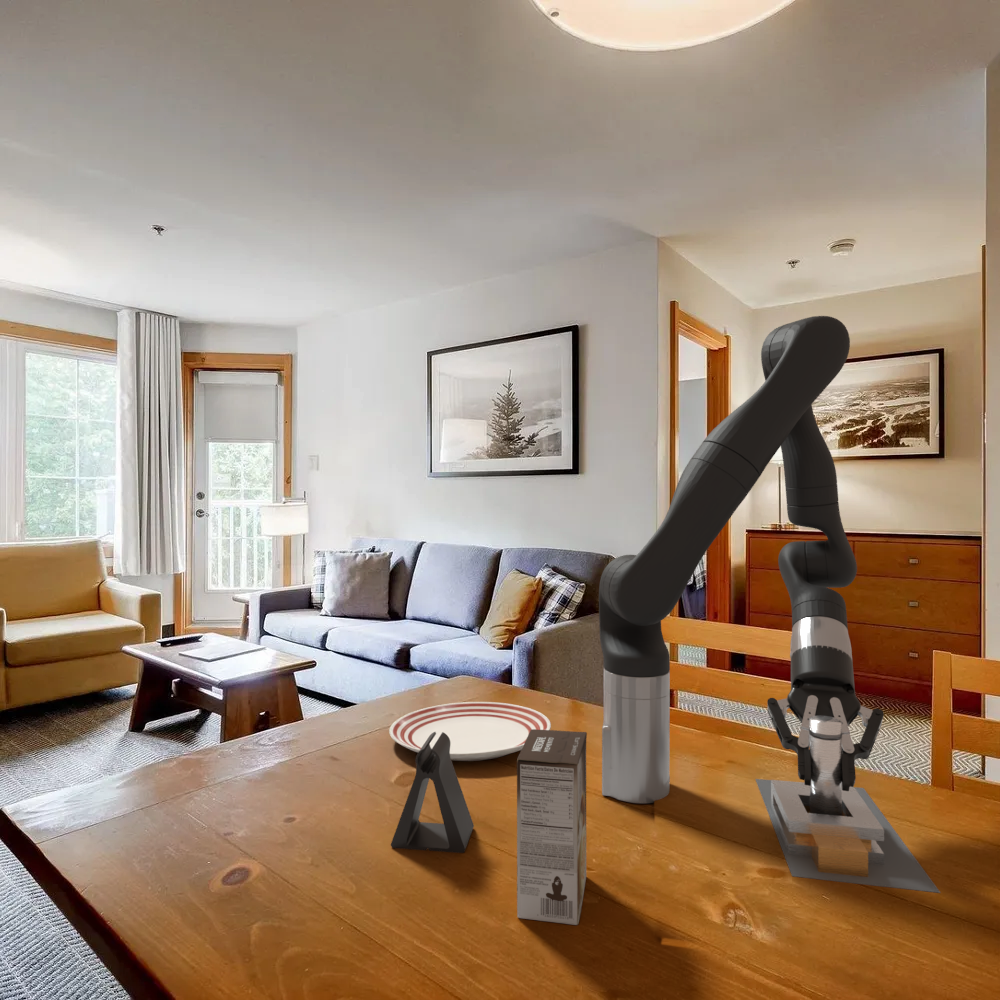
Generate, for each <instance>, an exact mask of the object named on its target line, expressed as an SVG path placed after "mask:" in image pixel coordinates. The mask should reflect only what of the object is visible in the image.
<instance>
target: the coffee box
mask: <svg viewBox="0 0 1000 1000" xmlns="http://www.w3.org/2000/svg"><path fill="white" fill-rule="evenodd" d="M587 735H588V733H587V732H586V731H567V730H554V729H550V730H536V729H532V730H531V731H530V733H529V735H528V737H527V739H526V741H525V744H524V746H523V748H522V750H520V752H519V754H518V756H517V758H516V759H517V760H516V869H517V870H516V877H517V878H516V910H517V911H516V913H517V914H516V916H517V918H519V919H524V920H525V919H526V920H534V921H539V922H549V923H557V924H565V925H573V926H578V925H579V922H580V918H581V913H582V906H583V899H584V895H585V894H584V893H585V887H586V882H587V881H586V880H587Z"/></svg>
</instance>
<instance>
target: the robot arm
mask: <svg viewBox="0 0 1000 1000" xmlns="http://www.w3.org/2000/svg"><path fill="white" fill-rule="evenodd" d="M850 346H851V339H850V334H849V331H848V329H847V327H846V325H845V324H844V323H843V322H842V321H840V320H839V319H838V318H836V317H834V316H833V317H832V316H830V315H829V316H828V315H816V316H810V317H805V318H802V319H799V320H796V321H792V322H789V323H785V324H782V325H781V326H778V327H776V328H774V329H773V330H772V331H771V332H769V334H767V335H766V337H765V339H764V341H763V342H762V346H761V350H760V351H761V352H760V356H761V357H760V358H761V359H760V360H761V367H762V371H763V377H764V382H763V384H762V385H761V386H760V387H759V388H758V390H756V391H755V392H754V394H752V395H751V396H750V397H749V398H748V399H746V400H745V401H744V402H742V404H741V405H739V406H738V407H737V408H736V409H734V410H733V411H732V412H731V413H729V415H728V416H726V417H725V418H724V419H722V420H721V422H720V423H718V424H717V425H716V427H714V428H713V429H712V430H711V431H710V432H709V433H708V435H706V437H705V439H704V440H703V441H702V442H701V444H700V445H699V446H698V448H697V450H696V451H695V452H694V454H693V455H692V457H691V458H690V459H689V461H688V463H687V464H686V465H685V467H684V469H683V471H682V472H681V475H680V477H679V480H678V481H677V485H676V487H675V489H674V493H673V495H672V499H671V502H670V505H669V508H668V511H667V513H666V514H665V517H664V519H663V521H662V522H661V524H660V526H659V527H658V529H657V530H656V531H655V532H654V534H653V535H652V536H651V538H650V539H649V540H648V542H647V543H646V544H645V545H644V546H643V548H642V549H641V550H639V552H638V554H624V555H620V556H617V557H615V558H614V559H613V560H611V561H610V562H609V563H608V564H607V565H606V566H605V568H603V571H602V574H601V575H600V581H599V586H598V587H599V588H598V621H599V622H598V623H599V641H600V647H601V651H602V652H601V653H602V656H603V722H602V728H601V737H602V738H601V753H602V754H601V777H602V778H601V795H602V796H607V797H611V798H614V799H616V800H618V801H622V802H627V803H631V804H653V803H655V801H658V800H662V799H664V798H665V797H667V796H668V795H669V794H670V783H671V780H670V779H671V777H670V775H671V774H670V755H671V754H670V749H671V747H670V744H671V743H670V731H671V730H670V724H671V723H670V719H671V718H670V712H671V710H670V707H671V705H670V703H671V702H670V696H671V695H670V688H671V687H670V680H671V679H670V674H671V673H670V672H671V671H670V670H671V668H670V665H671V664H670V660H671V659H670V652H669V649H668V647H667V645H666V643H665V639H664V636H663V630H662V621H663V620H665V618H666V617H668V615H670V614H671V613H672V611H673V609H674V608H675V607H676V605H677V603H678V602H679V601H680V598H681V597H682V594H683V593H684V591H685V589H686V587H687V586H688V584H689V582H690V580H691V577H692V576H693V575H694V573H695V571H696V569H697V567H698V565H699V563H700V562H701V560H702V559H703V557H704V555H705V554H706V552H707V551H708V549H709V548H710V546H711V545H712V543H713V542H714V541H715V540H716V538H717V537H718V536H719V534H720V533H721V532H722V530H723V529H724V527H725V526H726V525H727V523H728V521H729V520H730V518H732V516H733V515H734V513H735V512H736V510H737V509H738V507H739V506H740V505H741V504H742V502H743V501H744V500H745V499H746V497H747V495H748V494H749V493H750V492H751V490H752V489H753V488H754V486H755V484H756V483H757V481H758V480H759V479H760V477H761V476H762V474H763V472H764V471H765V469H766V467H767V466H768V465H769V464H770V461H771V460H772V459H773V457H774V456H775V454H776V453H777V452H778V451H779V449H781V450H780V451H781V454H782V463H783V471H784V484H785V485H784V486H785V497H786V511H787V518H788V520H789V522H790V523H791V524H792V525H794V526H798V527H803V528H811V529H815V530H819V531H820V532H822V533H823V534H824V535H825V536H826V538H827V540H826V539H825V540H807V541H806V540H804V541H803V540H801V541H800V540H798V541H791V542H788V543H787V544H786V543H785V545H784V546H782V548H780V549H781V550H780V551H779V554H778V559H777V561H778V569H779V572H780V574H781V575H780V576H781V578H782V580H783V583H784V584H785V587H786V590H787V592H788V595H789V598H790V605H791V636H790V637H791V638H790V652H789V658H790V690H789V693H788V694H787V697H786V698H782V699H776V698H774V697H769V698H767V701H766V703H767V704H766V705H767V713H768V715H769V717H770V718H769V719H770V720H771V722H772V725H773V727H774V729H775V732H776V735H777V736H778V739H779V742H780V743H781V746H782V747H783V749H785V750H791V751H793V752H795V753H796V755H797V776H798V778H799V780H802V781H803V782H804V785H809V786H811V758H810V734H809V727H810V717H811V716H829V717H834V718H837V719H839V720H841V722H842V755H841V767H842V790H843V791H849V787H854V786H855V784H856V779H857V777H856V766H855V761H856V760H858V759H861V760H867V759H869V758H870V756H871V753H872V751H873V748H874V745H875V743H876V740H877V738H878V735H879V732H880V730H881V727H882V724H883V720H884V715H885V713H884V711H883V710H882V709H880V708H874V709H873V710H872V709H870V708H868V707H865V706H863V705H861V702H860V701H859V698H858V697H857V695H856V690H855V677H854V676H855V675H854V666H853V665H854V664H853V655H852V654H853V653H852V652H853V651H852V644H851V639H850V635H849V629H848V616H847V613H848V612H847V605H846V602H845V599H844V597H843V595H841V594H840V593H839V592H838V591H836V590H834V588H835V589H836V588H846V587H848V586H849V585H850V584H852V582H854V580H855V579H856V576H857V572H858V565H857V560H856V556H855V554H854V552H853V550H852V547H851V544H850V543H849V540H848V537H847V534H846V531H845V529H844V526H843V522H842V517H841V513H840V503H839V493H838V492H839V489H838V479H837V476H838V475H837V469H836V466H835V465H836V464H835V462H834V458H833V455H832V454H831V451H830V448H829V447H828V445H827V443H826V441H825V438H824V437H823V435H822V432H821V430H820V429H819V426H818V424H817V421H816V417H815V414H814V409H813V405H812V404H813V403H814V402H815V401H816V400H817V398H818V397H819V396H821V394H822V393H823V392H824V391H825V390H826V388H827V387H828V386H829V385H830V384H831V383H832V381H833V380H834V379H835V378H836V377H837V375H839V373H840V372H841V371H842V369H843V367H844V366H845V363H846V361H847V359H848V356H849V352H850V349H851V348H850ZM831 588H833V589H831ZM788 709H790V711H791V712H792V713H793V714H794V716H795V717H796V718H797V719H798V721H799V722H800V723H801V725H800V731H799V734H798V737H797V736H795V735H793V734H792V732H791V730H790V727H789V725H788V722H787V721H786V717H787V716H788ZM858 716H859V717H860V718H861V724H862V727H863V726H864V727H865V729H864V731H863V734H862V736H861V739H860V742H858V743H853V740H852V737H851V733H850V728H849V726H850V725H851V724H852V723H853V722H854V721H855V719H856V718H857V717H858Z"/></svg>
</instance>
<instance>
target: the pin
mask: <svg viewBox="0 0 1000 1000" xmlns="http://www.w3.org/2000/svg"><path fill="white" fill-rule="evenodd" d="M809 734H810V746H809V749H810V758H811V786H810V813H815V814H826V815H836V816H842V767H841V755H842V722H841V720H839V719H837V718H834V717H829V716H811V717H810V727H809Z"/></svg>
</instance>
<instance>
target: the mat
mask: <svg viewBox="0 0 1000 1000" xmlns="http://www.w3.org/2000/svg"><path fill="white" fill-rule="evenodd" d="M771 780H772V779H762V778H761V779H760V778H755V782H756V785H757V787H758V790H759V793H760V796H761V798H762V801H763V803H764V806H765V808H766V812H767V814H768V816H769V819H770V821H771V824H772V827H773V829H774V832H775V834H776V837H777V841H778V842H779V845H780V848H781V851H782V853H783V856H784V858H785V861H786V863H787V866H788V869H789V872H790V875H791V877H794V878H805V879H812V880H821V881H832V882H838V883H847V884H857V885H864V886H865V885H866V886H875V887H883V888H892V889H893V888H894V889H901V890H910V891H918V892H920V891H921V892H929V893H937V894H941V891H940V889H938V887H937V886H936V884H935V883H934V881H932V879H931V878H930V876H929V875H928V874H927V872H926V871H925V869H924V868H923V866H921V864H920V863H919V861H918V859H916V857H915V856H914V855H913V853H912V852H911V851H910V849H909V847H908V846H907V845H906V844H905V843H904V840H902V838H901V837H900V835H899V834H898V833H897V832H896V830H895V829H894V827H893V826H892V824H891V823H890V821H889V820H888V819H887V818H886V816H885V815H884V814H883V812H882V811H881V810H880V808H879V807H878V806H877V804H876V803H875V802H874V800H873V799H872V798H871V796H870V795H869V793H868V792H867V791H866V789H865V788H864V787H856V786H855V787H854V786H853V787H854V788H855V789H856V791H857V792H858V793H859V795H860V796H861V798H862V799H863V800H864V802H865V803H866V805H867V806H868V808H869V809H870V810H871V812H872V813H873V815H874V816H875V817H876V819H877V820H878V822H879V823H880V825H881V826H882V827H883V829H884V841H877V840H875V841H876V842H877V844H878V845H879V847H880V848H881V850H882V851H883V853H884V865H877V864H868V877H862V876H852V875H843V874H834V873H825V872H818V870H817V867H816V865H815V863H814V861H813V859H812V858H811V857H802V856H792V855H788V852H787V849H786V847H785V844H784V842H783V839H782V837H781V834H780V832H779V829H778V826H777V824H776V821H775V819H774V816H773V814H772V811H771Z"/></svg>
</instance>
